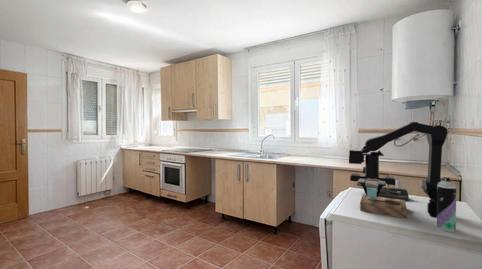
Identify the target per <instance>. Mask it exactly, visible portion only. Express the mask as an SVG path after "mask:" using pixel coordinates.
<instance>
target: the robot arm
mask: <svg viewBox="0 0 482 269" xmlns="http://www.w3.org/2000/svg"><path fill="white" fill-rule="evenodd" d="M413 132H418V133H422V134H425V135H426V136H425V137H426V140H427V142H428V160H427V161H428V162H427V164H428V165H427V177H426V179H421V183H422V186H421V189H422V191H423V192H424V194H426V196H428V202H427V210H426V212H427V213H428V214H429V216H430V217H435V218H437V184H438V182H441V181H442V179H441V174H442V155H443V152H442V151H443V146H444V144H445V142H446V141H447V136H448V129H447V128H446V127H445V126H443V125H439V124H438V125H437V124H434V125H433V124H432V125H429V124H425V123H419V122H417V121H410V122H409V123H407V124H405V125H403V126H400V127H398V128H396V129H394V130H391V131H389V132H387V133H385V134H383V135H379V136H378V135H377V136H375V137H370V138H368V139H366V141H365V143H364V146H363V147H362V148H361V150H355V149H354V150H353V149H349V150H348V164H351V165H352V164H353V165H362V163H364V164H365V166H363V167H362V174H365V176H364V175H361V174H360V173H351V174H350V176H349V179H350V180H349V181H350V182H358V181H359V183H360V184H361V185H362V186H361V187H362V189H363V191H364V195H366V196H367V185H366V183H367V181H371V182H378V184H377V186H378V189H377V197H378V195H379V193H380V191H381V189H382V187H386V185H389V186H396V178H395V177H394V176H387V175H385V176H384V177H380V157H384V156H385V155H384V153H382V151H381V150H380V149H381V148H383V147H384V146H385V145H386V144H388V143H390V142H392V141H395V140H398V139H399V138H402V137H404V136H406V135H408V134H411V133H413Z"/></svg>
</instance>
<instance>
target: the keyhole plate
mask: <svg viewBox="0 0 482 269" xmlns="http://www.w3.org/2000/svg"><path fill="white" fill-rule="evenodd" d="M359 203H360V204H359V205H360V206H359V210H360V211H362V212H368V213H373V214H380V215H387V216H391V217H399V218H405V219H407V218H408V207H407V203H406V201H405V200H399V199H391V198H384V197H377V198H374V201H372V200H370V197H367V196H366V194H362V196H361V199H360V202H359Z"/></svg>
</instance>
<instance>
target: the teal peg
mask: <svg viewBox="0 0 482 269" xmlns="http://www.w3.org/2000/svg"><path fill="white" fill-rule="evenodd" d="M367 197H370V200H372V201H374V198H377V189H376V188H367Z"/></svg>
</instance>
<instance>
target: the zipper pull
mask: <svg viewBox="0 0 482 269" xmlns="http://www.w3.org/2000/svg"><path fill="white" fill-rule="evenodd" d="M366 185H367V188H376V189H378V184H373V183H369V182H366ZM356 186H359V187H362V185H361V184H360V183H359V180H358V181H356ZM378 197H384V198H391V199H399V200H405V202H407V201H409V197H410V196H409V192H408V190H407V189H406V188H400V187H386V186H383V187H382V189H381V190H380V193H379V195H378Z"/></svg>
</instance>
